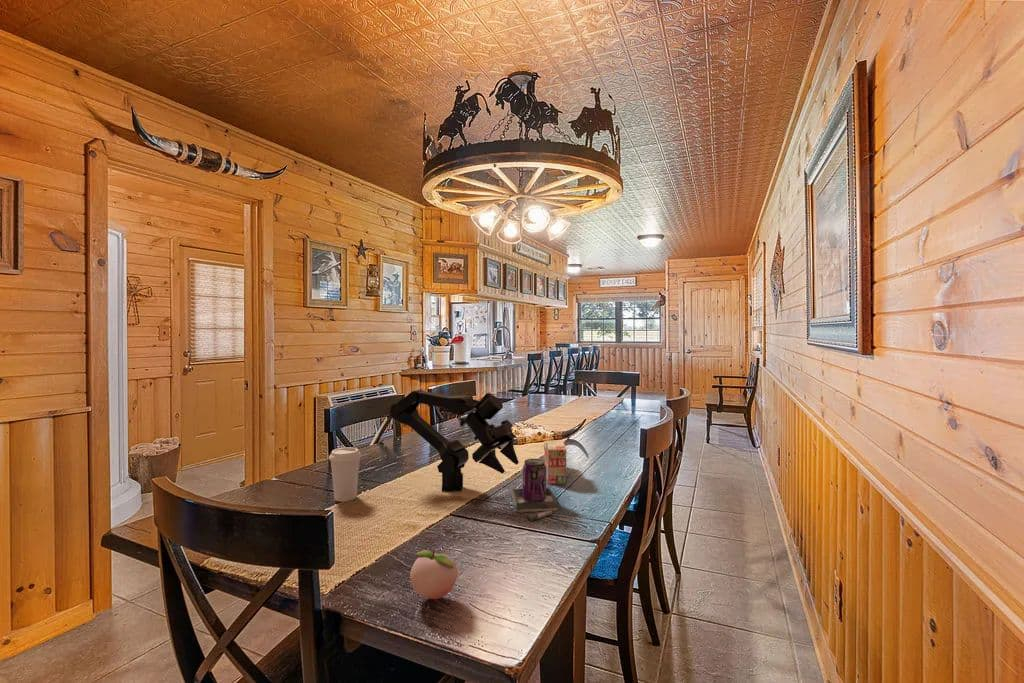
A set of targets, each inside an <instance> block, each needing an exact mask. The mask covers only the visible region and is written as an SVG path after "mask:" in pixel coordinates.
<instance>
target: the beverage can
mask: <svg viewBox="0 0 1024 683" xmlns="http://www.w3.org/2000/svg"><path fill="white" fill-rule="evenodd" d="M544 463H545V459H540V458H528V459H525V460H524V464H523V465H522V489H523V499H524V500H526V501H528V502H541V501H543V500H545V499H546V488H547V475H546V466H545V464H544Z"/></svg>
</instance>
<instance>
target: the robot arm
mask: <svg viewBox="0 0 1024 683" xmlns="http://www.w3.org/2000/svg"><path fill="white" fill-rule="evenodd" d="M421 404H423V405H427V406H432V407H436V408H437V407H438V408H443V409H445V410H447V411H448V412H449V413H452V414H454V415H456V416H462V417H461V418H460V423H459V426H460V427H464V426H468V428H469V430H470V431H471V432H472V433H473V435H474V437H473V439H474V440H475V442H476V441H478V442H479V443H480V444H481V445H480V446H479V447H477V449H475V451H474V452H473V453H472V454H471V457H472V460H473V461H474V463H479V464H482V465H484V466H486V467H489V468H491V469H493V470H495V471H496V472H498V473H500V474H504V473H505V472H506V471H505V469H504V466H503V465H502V463H501V462H500V461H499V459H498V457H497V456H496V449H498V450H499V452H500V453H501V454H502V455H503V456H505V458H506V459H508V460H509V461H510V462H512V463H514V465H517V466H518V464H519V459H518V456H517V454H516V450H515V448H514V447H515V446H514V443H515V441H516V435H515V434H514V433H513V429H512V427H513V424H512V423H511V421H509V419H505V420H502V421H501V422H500V425H497V426H495V424H493V423H491V424H489V422H488V421H489V420H492V419H493V418H494V417H495V416H496V415H497V414H498V413H499V412H500V411H501V410H502V409H503V408H504V404H503V401H501V399H500V398H498V397H496V396H495V395H493V394H492V393H491V392H487V393H485V395H484V396H483V397H482V398H481V399H480V400H478V399H474V398H473V396H471V395H468V394H465V395H461V394H460V395H447V394H442V393H437V392H436V393H435V392H432V391H431V392H430V391H426V390H422V389H417V390H412V391H410V392H409V393H408V394H407V395H406V396H405V397H403V398H402V399H400V400H399V401H397V402H396V403H393V404H391V406H390V408H389V415H390V417H391V419H393V420H395V421H396V422H397V423H399V424H402V425H405V426H408V427H410V429H412V430H413V431H414V432H415V433H416V434H418V435H419V436H420V437H421V438H422V439H423V440H424V441H425V442H426V443H428V444H429V445H430V446H431V447H433V448H434V450H436V451H437V452H438V455H439V457H440V460H441V461H440V463H439V464H437V466H436V467H437V471H438V473H441V492H461V491H462V488H463V487H464V473H463V472H462V469H463V468H464V467H465V466H466V463H467V462H468V461H469V458H470V454H469V450H468V449H467V448H466V447H467V446H466V445H463V444H462V443H461V442H460V441H459V440H458V439H455V440H453V441H450V440H448V439H447V437H445V436H444V435H442V434H441V433H440V432H439V431H438V430H436V429H435V428H434V427H433V426H432V425H431V424H430V423H428V422H427V421H426V420H425V419H424V418H422V417H421V416H420V414H419V412H418V411H419V410H418V409H417V408H418V407H419V406H420V405H421ZM466 414H467V415H466ZM463 415H466V416H463ZM487 420H488V421H487Z"/></svg>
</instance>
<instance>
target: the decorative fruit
mask: <svg viewBox="0 0 1024 683" xmlns="http://www.w3.org/2000/svg"><path fill="white" fill-rule="evenodd" d="M415 555H416V556H418V557H417V558H416V560H415V561H414V563H412V564H413V565H412V567H411V570H410V574H409V578H410V583H411V585H412V587H413V590H414V591H415V592H416V593H417V594H418V595H419V596H421V597H423V598H428V599H431V600H437V599H438V600H439V599H442V598H443V597H445V596H446V595H448V594H449V593H450V592H451V591H452V589H453V588H454V587H455V585H456V582H457V578H458V568H457V564H456V562H455V561H454V560H453V559H452V558H451V557H450V556H448V555H446V554H438V553H436V552H435V549H432V551H431V550H428V549H427V550H425V549H424V550H421V551H418V552H416V553H415Z"/></svg>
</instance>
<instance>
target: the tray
mask: <svg viewBox="0 0 1024 683" xmlns="http://www.w3.org/2000/svg"><path fill="white" fill-rule="evenodd" d="M511 499H512V502H513V505H514V509H515V512H517V513H520V512H522V513H524V512H544V511H547V510H552V511H558V508H559V507H558V504H559V503H558V502H559V501H558V499H557V498H556V497H555V495H554V493H553V491H552V489H551V488H550V487H546V499H545V500H543V501H541V502H528V501H526V500H524V499H523V488H511Z"/></svg>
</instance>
